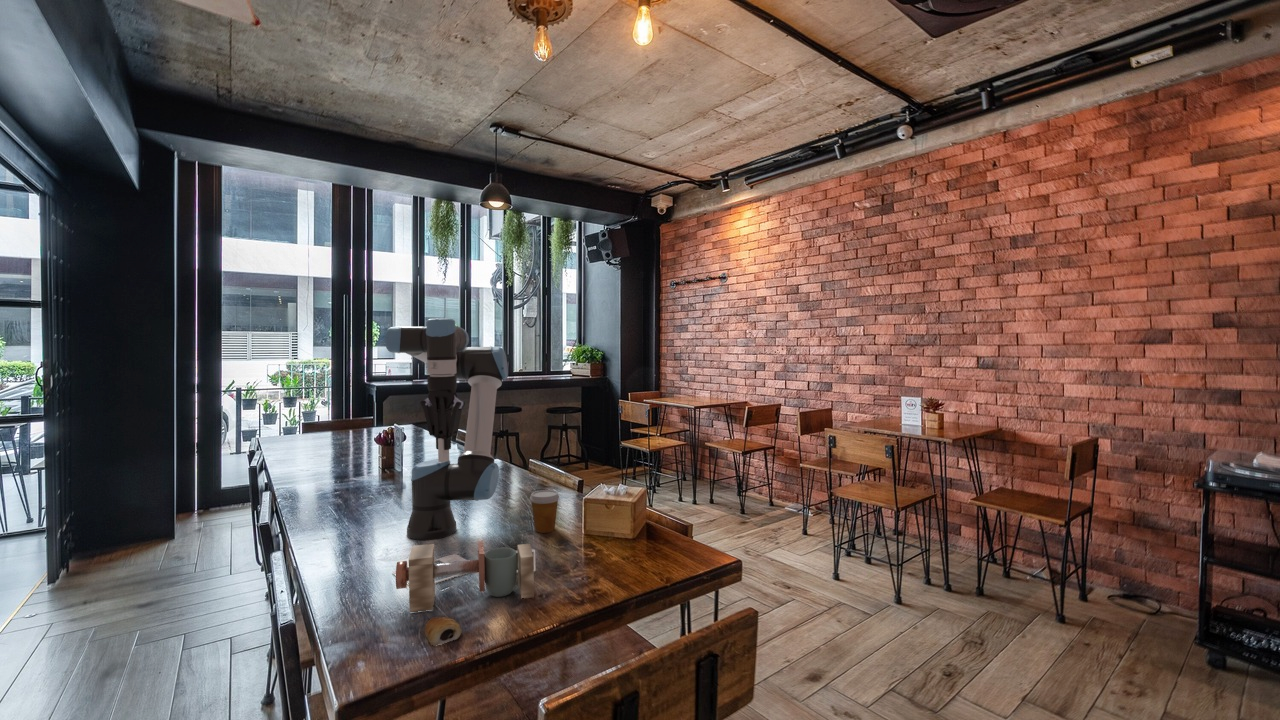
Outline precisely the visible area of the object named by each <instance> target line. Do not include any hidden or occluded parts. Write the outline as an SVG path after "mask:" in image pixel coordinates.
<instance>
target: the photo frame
mask: <svg viewBox="0 0 1280 720" xmlns="http://www.w3.org/2000/svg"><path fill="white" fill-rule="evenodd" d="M435 561H438V562H439V561H440V562H439V563H441V562H442V563H450V562H459V561H468V560H467V559H466V558H463V557H462V556H460V555H458V554H456V553H453V554H450V555H446V556H443V557H440V558H436V559H435V558H434V563H436V562H435ZM442 563H441V564H442ZM392 572H393V573H394V574H396V570H394V571H392ZM461 575H463V576H465V575H464V574H461ZM461 575H453V576H446V577H444V578H441V579H439V580H435V583H438V582H441V581H444V582H446V581H445V580H447V581H449V580H448V579H450V580H452V579H451V578H454V577H457V578H459V577H458V576H460V577H462V576H461ZM454 579H455V578H454ZM407 583H408V584H409V581H407ZM441 583H442V582H441ZM438 584H439V583H438Z"/></svg>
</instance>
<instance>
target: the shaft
mask: <svg viewBox="0 0 1280 720" xmlns="http://www.w3.org/2000/svg"><path fill="white" fill-rule="evenodd" d="M477 552H478V553H477V557H478V558H477V559H468V560H467V561H459V562H450V563H434V564H433V578H442V577H444V578H445V577H451V576H454V575H461V574H466V575H469V574H476V573H478V587H479V588H478V589H479V593H480V592H481V593H483V592H486V590H485V589H486V586H485V569H484V554H485V547H484V540H478V541H477ZM395 565H396V566H395V567H396V568H395V571H396V576H395V588H396V590H399V589H407V587H408V585H407V581H409V564H408V561H407V560H400V561H397V562H396V564H395Z"/></svg>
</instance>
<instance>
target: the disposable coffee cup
mask: <svg viewBox="0 0 1280 720" xmlns="http://www.w3.org/2000/svg"><path fill="white" fill-rule="evenodd" d="M559 499H560V495H559V493H558V491H556V490H552V489H543V490H537V491H533V492H532V493H531V495H530V497H529V500H530V502H531V508H532V515H533V523H534V530H535V532H537V533H540V534H541V533H543V534H545V533H546V534H547V533H551V532H554V531H555V529H556V520H557V519H556V518H557V510H558V501H559Z"/></svg>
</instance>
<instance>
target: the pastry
mask: <svg viewBox="0 0 1280 720" xmlns="http://www.w3.org/2000/svg"><path fill="white" fill-rule="evenodd" d="M424 632H425V633H424V636H425V637H426V638H427V640H428V639H429V640H428V642H430V643H431V644H430V643H429V644H430V645H431V646H432V645H433V646H432V647H434V646H436V645H438V644H444V643H447V642H449V641H451V642H454V641H456V640H458V639H459V638H460V636H461V634H462V628H461V626H460V624H459V623H458V622H457V621H456V620H454V618H449V617H447V616H438V617H432V618H430V619H429V620H428V621H426V624H425V628H424ZM453 640H454V641H453ZM449 643H450V642H449ZM447 644H448V643H447ZM444 645H445V644H444ZM436 647H437V646H436Z"/></svg>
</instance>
